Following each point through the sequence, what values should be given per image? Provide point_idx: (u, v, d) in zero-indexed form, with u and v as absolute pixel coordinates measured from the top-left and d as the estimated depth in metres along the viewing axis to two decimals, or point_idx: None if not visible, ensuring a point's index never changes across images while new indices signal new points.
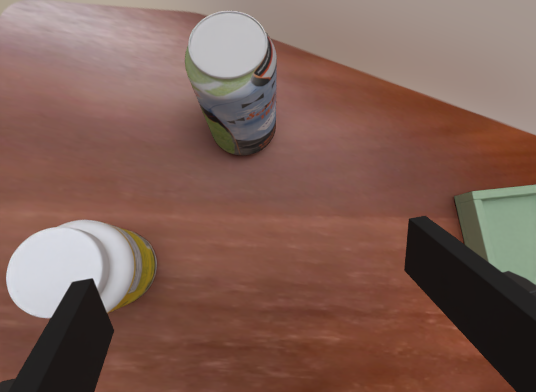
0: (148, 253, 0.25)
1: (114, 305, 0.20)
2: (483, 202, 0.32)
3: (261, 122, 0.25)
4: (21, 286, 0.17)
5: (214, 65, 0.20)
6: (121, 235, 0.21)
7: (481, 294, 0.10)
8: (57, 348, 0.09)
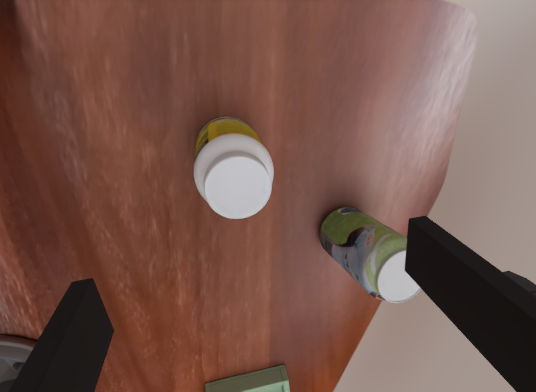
0: None
1: None
2: None
3: None
4: (226, 168, 0.22)
5: (387, 270, 0.27)
6: None
7: (481, 294, 0.10)
8: (57, 348, 0.09)
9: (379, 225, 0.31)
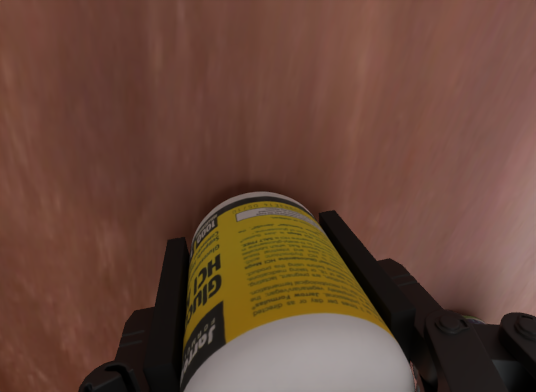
0: None
1: None
2: None
3: None
4: None
5: None
6: None
7: (356, 278, 0.12)
8: (179, 283, 0.11)
9: None
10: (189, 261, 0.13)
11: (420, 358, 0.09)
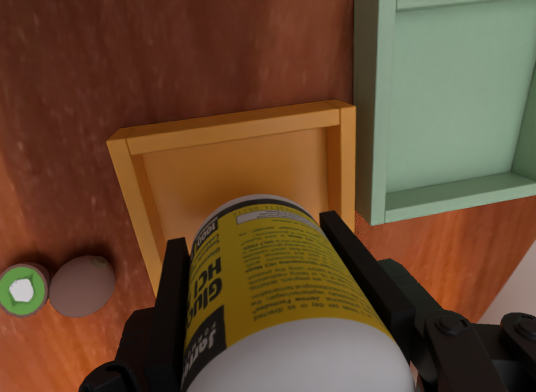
0: None
1: None
2: None
3: None
4: None
5: None
6: None
7: (356, 278, 0.12)
8: (179, 283, 0.11)
9: None
10: (189, 263, 0.13)
11: (420, 358, 0.09)
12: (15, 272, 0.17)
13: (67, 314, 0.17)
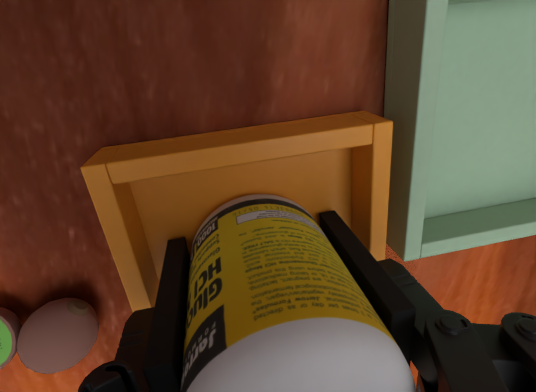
0: None
1: None
2: None
3: None
4: None
5: None
6: None
7: (356, 278, 0.12)
8: (179, 284, 0.11)
9: None
10: (189, 263, 0.13)
11: (420, 358, 0.09)
12: None
13: (39, 371, 0.14)
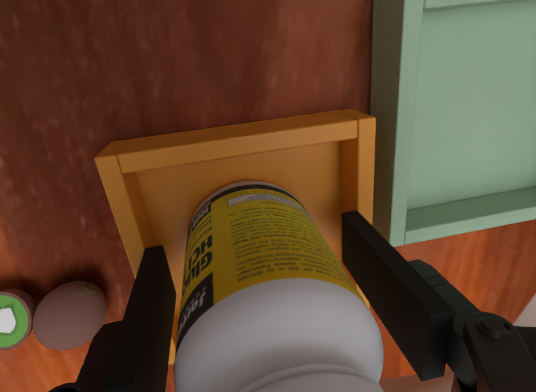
0: None
1: None
2: None
3: None
4: None
5: None
6: None
7: (386, 279, 0.11)
8: (151, 296, 0.11)
9: None
10: None
11: (458, 359, 0.09)
12: None
13: (53, 347, 0.15)
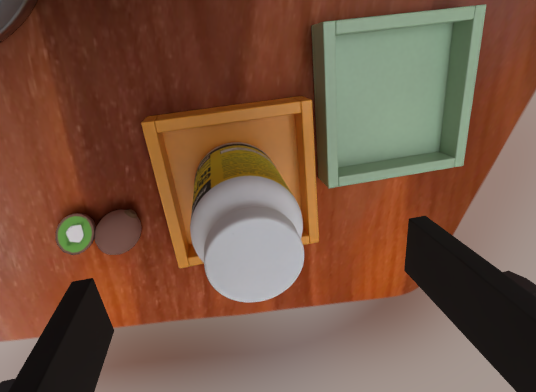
0: None
1: None
2: (447, 51, 0.24)
3: None
4: (238, 236, 0.14)
5: None
6: None
7: (481, 294, 0.10)
8: (57, 348, 0.09)
9: None
10: None
11: None
12: (71, 220, 0.23)
13: (108, 250, 0.23)
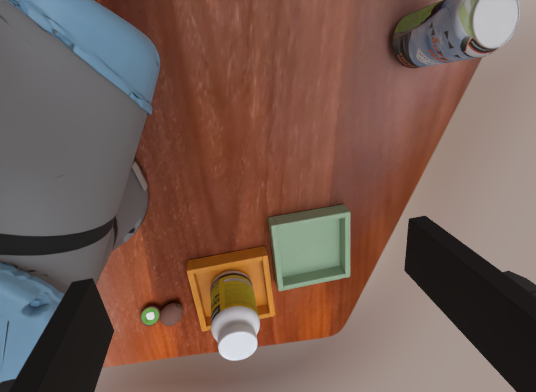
0: None
1: None
2: (338, 223, 0.47)
3: (425, 50, 0.34)
4: (231, 338, 0.38)
5: (483, 7, 0.28)
6: None
7: (481, 294, 0.10)
8: (57, 348, 0.09)
9: None
10: (210, 292, 0.46)
11: None
12: (148, 309, 0.47)
13: (167, 324, 0.47)
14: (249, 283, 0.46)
